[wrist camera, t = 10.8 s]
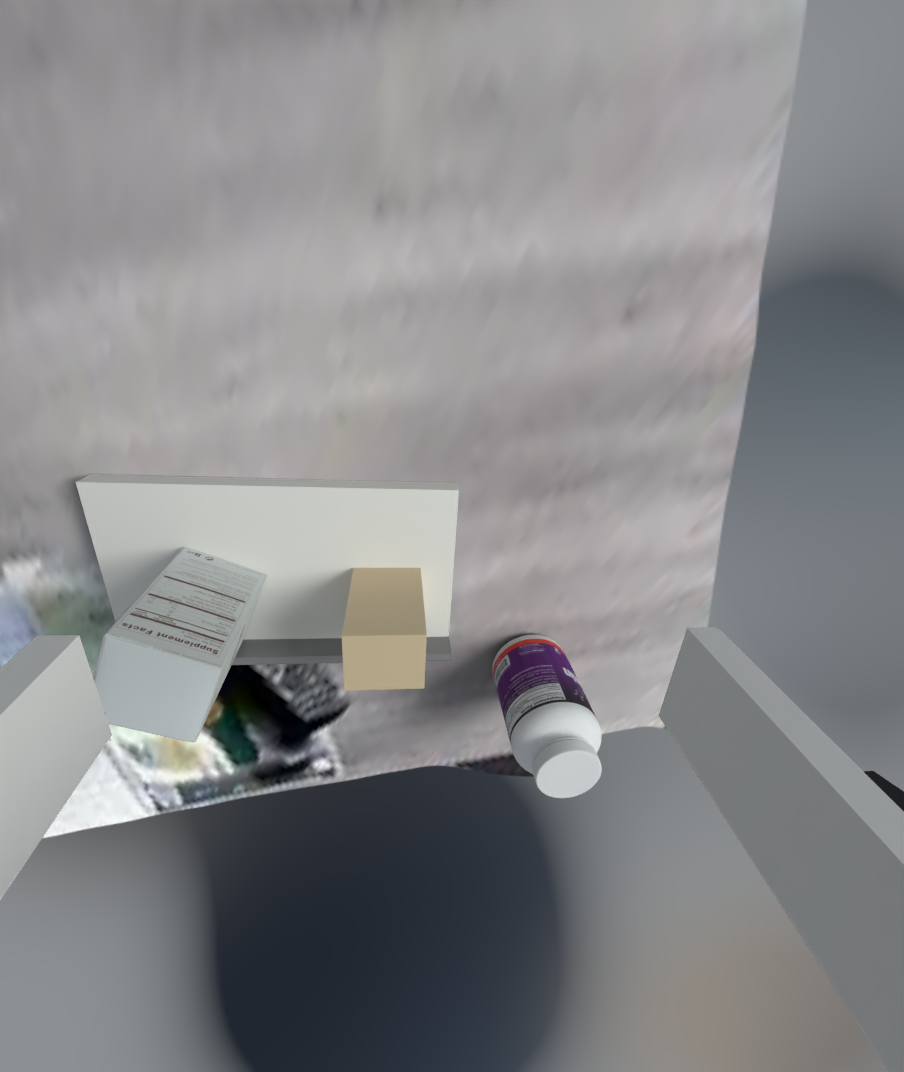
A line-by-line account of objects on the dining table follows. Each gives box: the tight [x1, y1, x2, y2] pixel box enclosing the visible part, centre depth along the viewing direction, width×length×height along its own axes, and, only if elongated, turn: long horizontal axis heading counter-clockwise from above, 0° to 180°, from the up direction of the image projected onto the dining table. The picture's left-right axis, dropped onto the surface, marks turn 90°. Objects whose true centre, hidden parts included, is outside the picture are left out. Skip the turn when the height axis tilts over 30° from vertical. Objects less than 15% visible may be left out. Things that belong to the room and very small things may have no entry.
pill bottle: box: [492, 635, 602, 798], centre depth 45 cm, size 8×8×14 cm
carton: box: [342, 568, 427, 691], centre depth 40 cm, size 5×6×10 cm
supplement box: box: [93, 547, 267, 742], centre depth 37 cm, size 7×7×13 cm
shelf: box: [76, 474, 459, 665], centre depth 42 cm, size 16×30×5 cm, turn 87°
